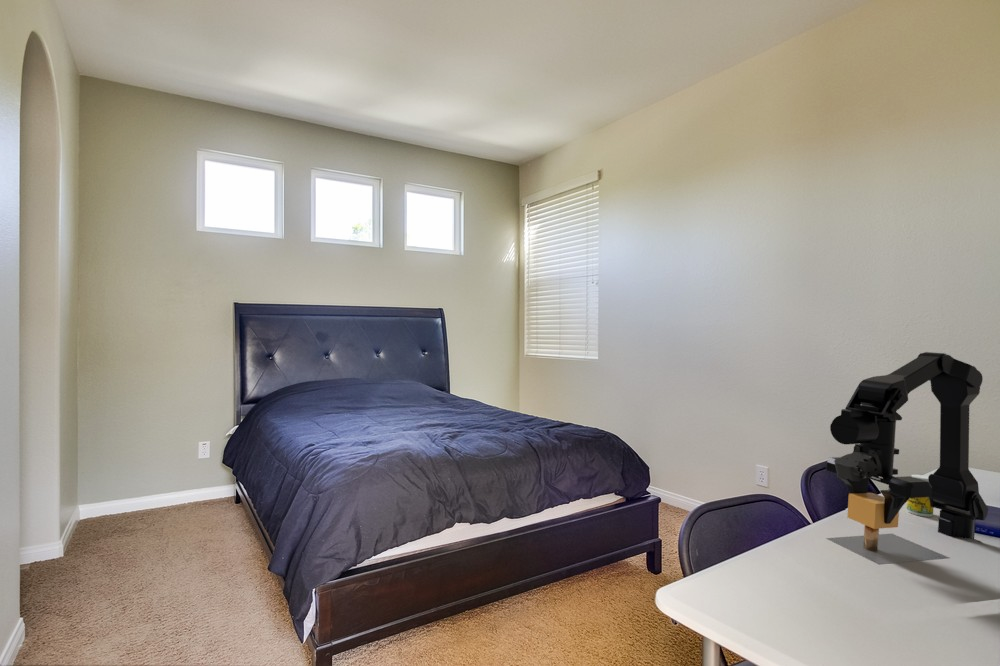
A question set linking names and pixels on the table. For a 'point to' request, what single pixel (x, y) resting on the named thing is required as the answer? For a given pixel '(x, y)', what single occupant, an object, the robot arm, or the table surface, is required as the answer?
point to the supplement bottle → (920, 503)
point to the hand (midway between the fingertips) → (872, 517)
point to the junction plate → (888, 549)
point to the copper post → (870, 538)
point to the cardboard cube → (869, 510)
